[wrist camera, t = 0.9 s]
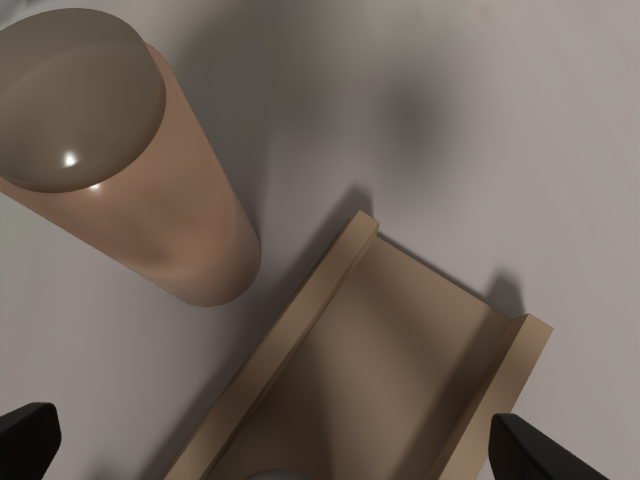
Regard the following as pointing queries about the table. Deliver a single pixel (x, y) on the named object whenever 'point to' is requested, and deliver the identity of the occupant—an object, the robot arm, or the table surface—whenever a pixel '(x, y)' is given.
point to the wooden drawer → (368, 376)
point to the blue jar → (277, 475)
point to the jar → (119, 155)
